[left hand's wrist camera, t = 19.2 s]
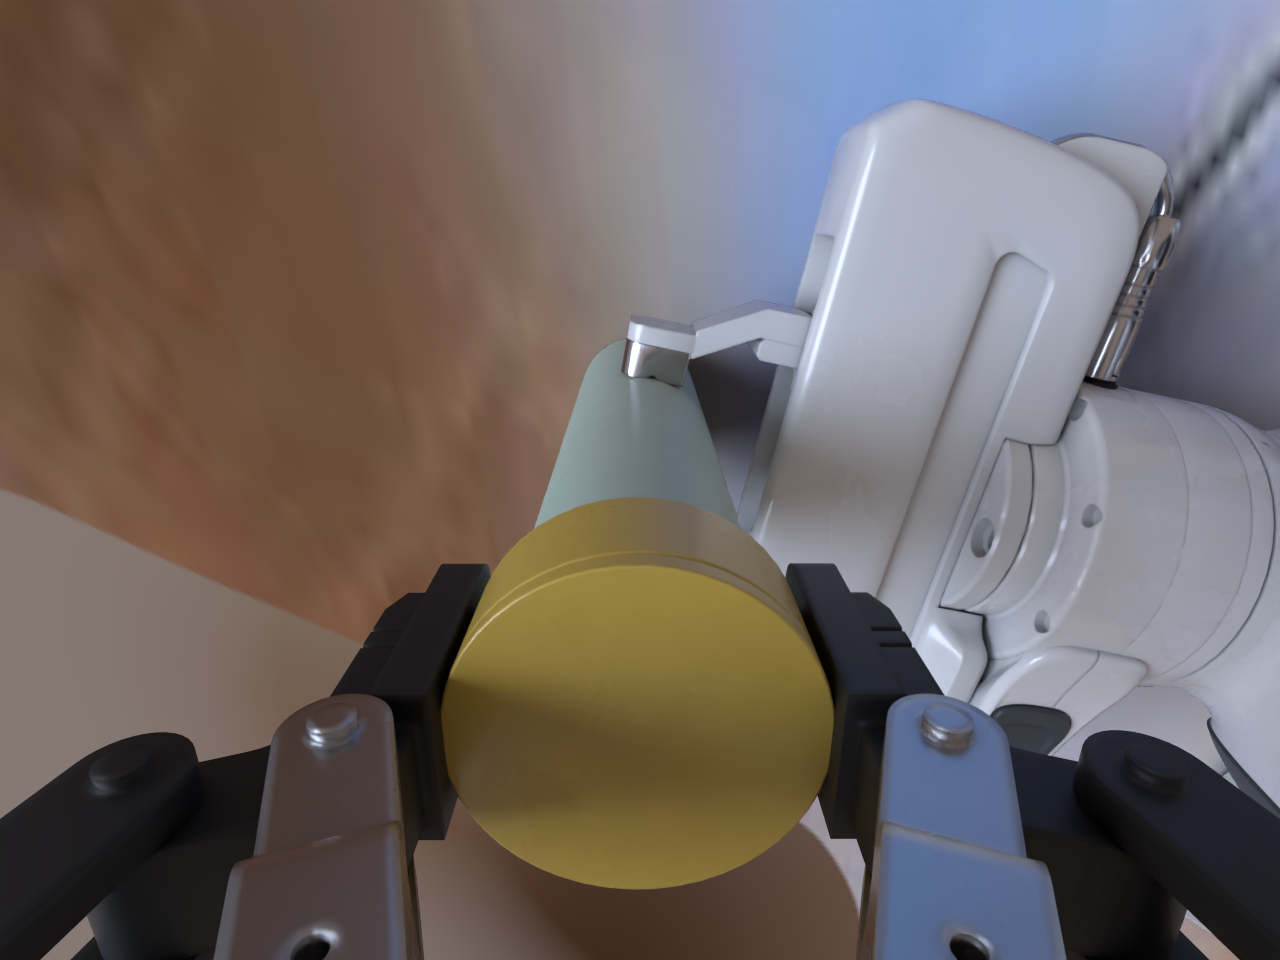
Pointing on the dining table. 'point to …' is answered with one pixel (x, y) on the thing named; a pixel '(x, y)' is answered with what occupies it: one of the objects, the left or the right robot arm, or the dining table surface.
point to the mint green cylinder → (635, 444)
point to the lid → (637, 698)
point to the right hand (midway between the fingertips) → (607, 436)
